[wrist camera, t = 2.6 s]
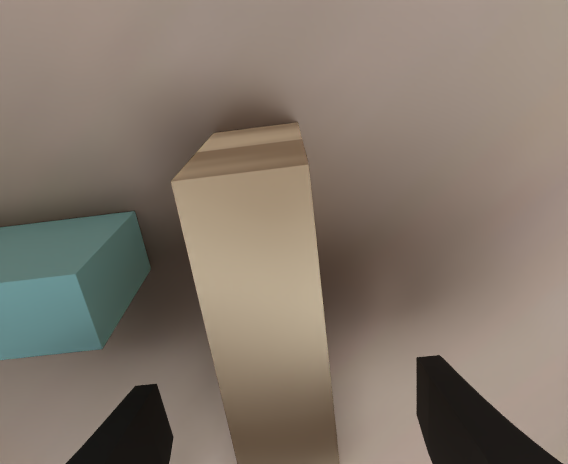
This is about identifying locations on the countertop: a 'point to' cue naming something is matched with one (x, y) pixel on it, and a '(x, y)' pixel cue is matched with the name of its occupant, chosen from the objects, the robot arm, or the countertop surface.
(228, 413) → the beige flat bar
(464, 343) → the countertop surface
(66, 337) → the teal long bar
